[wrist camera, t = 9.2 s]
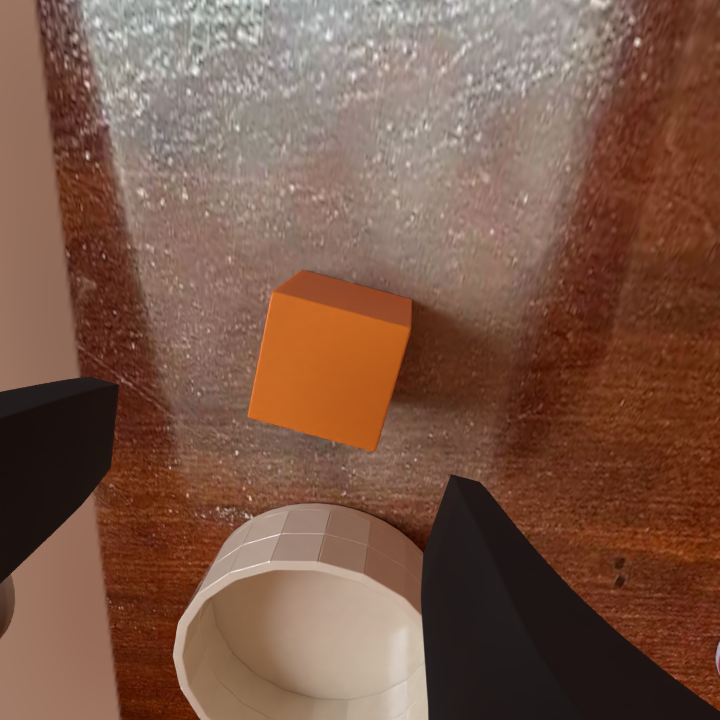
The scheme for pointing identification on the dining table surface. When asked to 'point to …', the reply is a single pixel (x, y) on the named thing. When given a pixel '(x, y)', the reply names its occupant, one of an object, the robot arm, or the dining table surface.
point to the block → (330, 358)
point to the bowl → (307, 621)
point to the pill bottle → (718, 658)
